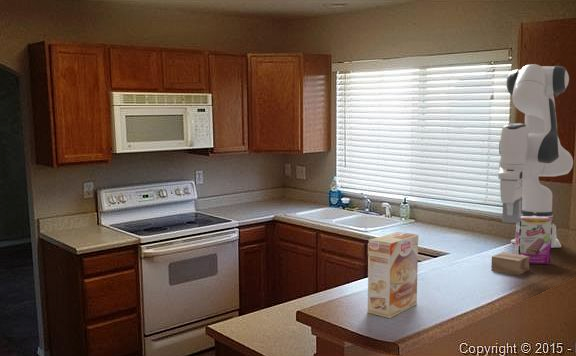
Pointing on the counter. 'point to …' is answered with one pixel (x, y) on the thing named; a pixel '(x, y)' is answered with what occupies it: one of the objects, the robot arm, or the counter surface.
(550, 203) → the robot arm
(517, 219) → the grey plastic block
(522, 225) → the candy bar box
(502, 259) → the tan block
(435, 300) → the counter surface
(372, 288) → the coffeecake box
